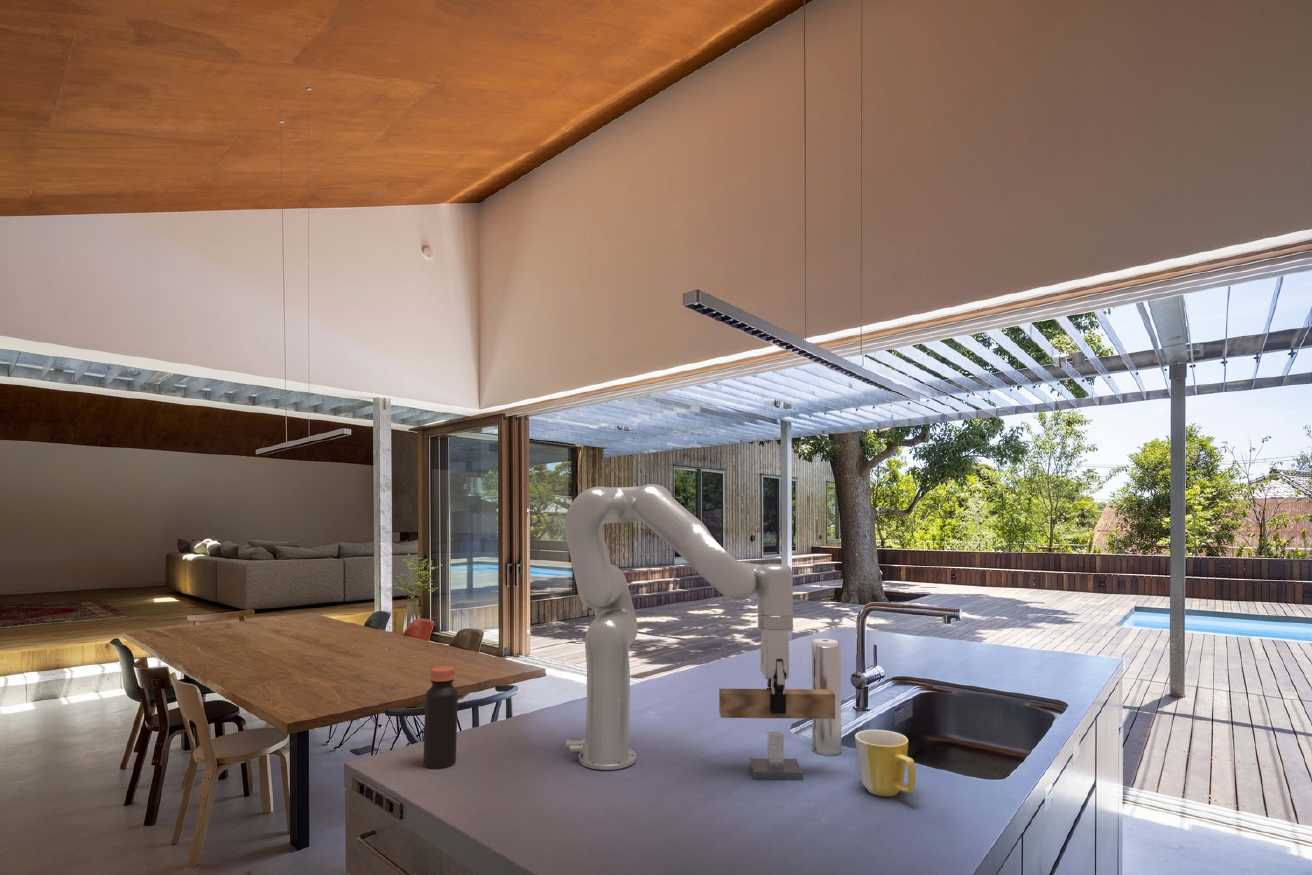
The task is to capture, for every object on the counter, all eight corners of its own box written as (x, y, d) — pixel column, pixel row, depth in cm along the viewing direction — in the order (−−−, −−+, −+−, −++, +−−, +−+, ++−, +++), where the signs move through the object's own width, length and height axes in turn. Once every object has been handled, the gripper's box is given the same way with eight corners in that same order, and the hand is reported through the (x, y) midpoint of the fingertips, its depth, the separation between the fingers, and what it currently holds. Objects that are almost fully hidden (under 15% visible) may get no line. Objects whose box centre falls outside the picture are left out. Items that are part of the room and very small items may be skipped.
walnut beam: (720, 717, 154) (720, 693, 155) (719, 712, 158) (719, 688, 159) (835, 718, 154) (835, 694, 155) (830, 713, 158) (830, 689, 159)
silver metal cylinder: (842, 756, 165) (840, 643, 168) (812, 754, 167) (811, 641, 169) (840, 747, 172) (839, 638, 174) (812, 745, 173) (811, 636, 175)
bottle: (416, 765, 157) (419, 670, 159) (439, 756, 163) (442, 663, 165) (439, 771, 154) (443, 673, 156) (462, 761, 160) (465, 667, 162)
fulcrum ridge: (754, 779, 151) (754, 739, 152) (749, 765, 159) (749, 727, 160) (803, 779, 151) (802, 739, 152) (795, 765, 159) (795, 727, 160)
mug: (846, 783, 150) (846, 730, 151) (892, 779, 152) (891, 727, 153) (879, 810, 137) (879, 752, 138) (929, 807, 139) (928, 749, 140)
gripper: (752, 616, 166) (753, 699, 165) (763, 629, 150) (764, 721, 148) (786, 616, 166) (787, 699, 165) (800, 629, 150) (801, 721, 148)
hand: (776, 709), depth 156 cm, fingers closed on walnut beam, 4 cm apart
